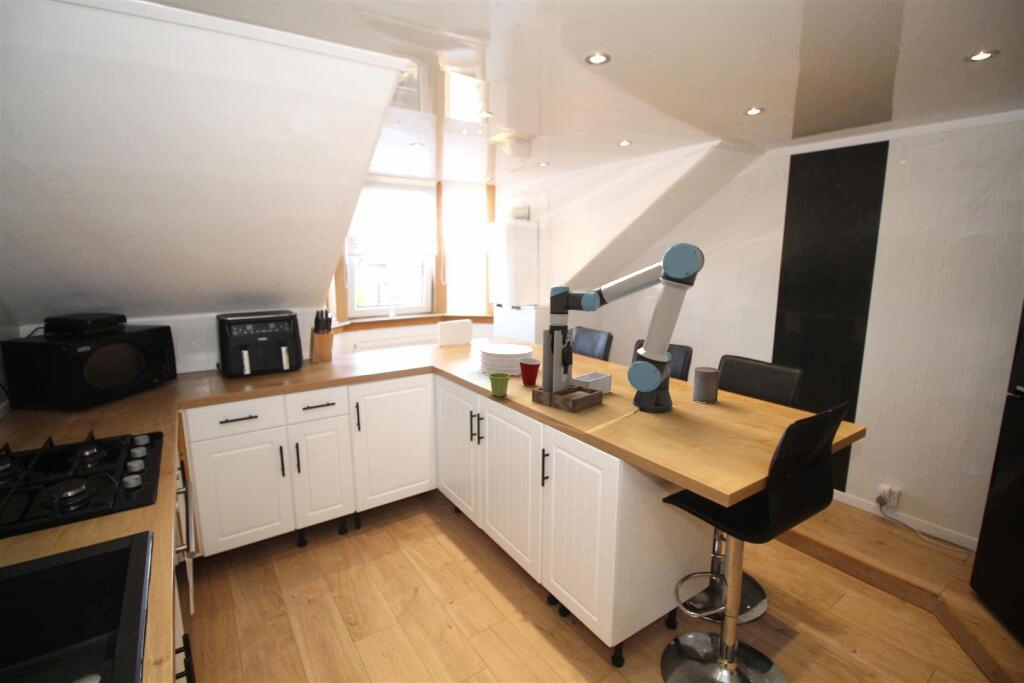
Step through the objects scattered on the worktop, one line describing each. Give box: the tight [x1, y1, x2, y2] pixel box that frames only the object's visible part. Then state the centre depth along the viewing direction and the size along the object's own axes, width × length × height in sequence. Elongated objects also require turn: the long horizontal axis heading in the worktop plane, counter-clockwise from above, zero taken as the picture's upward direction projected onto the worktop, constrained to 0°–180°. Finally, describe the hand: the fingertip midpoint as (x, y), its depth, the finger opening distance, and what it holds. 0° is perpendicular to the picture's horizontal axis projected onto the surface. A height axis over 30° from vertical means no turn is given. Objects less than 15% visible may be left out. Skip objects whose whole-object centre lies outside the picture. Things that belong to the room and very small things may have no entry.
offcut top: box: [563, 391, 589, 399], centre depth 182 cm, size 8×14×2 cm, turn 134°
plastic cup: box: [519, 357, 543, 387], centre depth 215 cm, size 11×11×12 cm
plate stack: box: [479, 343, 534, 376], centre depth 246 cm, size 28×28×12 cm
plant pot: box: [488, 373, 511, 397], centre depth 198 cm, size 9×9×9 cm
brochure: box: [541, 327, 574, 393], centre depth 187 cm, size 14×6×30 cm, turn 143°
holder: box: [572, 371, 613, 395], centre depth 201 cm, size 9×18×8 cm, turn 136°
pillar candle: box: [692, 365, 720, 404], centre depth 193 cm, size 10×10×15 cm
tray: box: [531, 384, 604, 414], centre depth 185 cm, size 21×19×6 cm
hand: (557, 380), depth 188 cm, fingers closed on brochure, 6 cm apart
